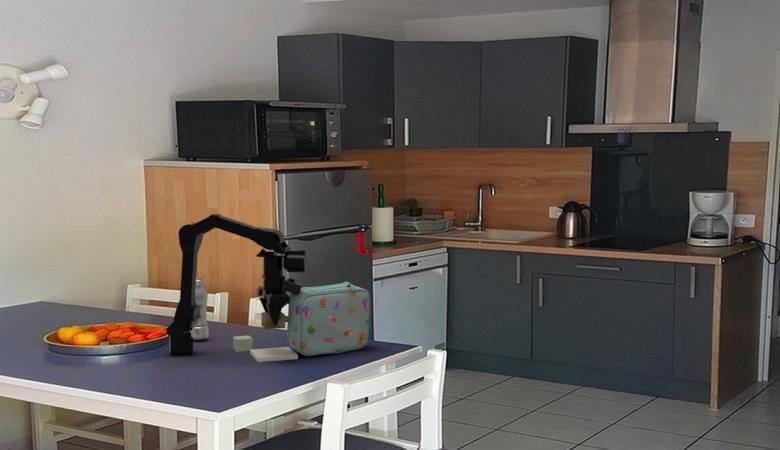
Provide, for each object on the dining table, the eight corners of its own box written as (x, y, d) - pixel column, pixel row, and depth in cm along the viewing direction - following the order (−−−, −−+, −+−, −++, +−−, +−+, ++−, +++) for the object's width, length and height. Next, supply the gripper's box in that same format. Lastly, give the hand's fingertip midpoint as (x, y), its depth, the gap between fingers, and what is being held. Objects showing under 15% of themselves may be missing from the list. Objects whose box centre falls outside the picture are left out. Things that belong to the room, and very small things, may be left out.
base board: (258, 362, 270) (258, 358, 270) (249, 353, 282) (249, 349, 282) (297, 359, 274) (297, 355, 274) (288, 350, 286) (288, 346, 286)
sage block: (236, 352, 284) (236, 339, 283) (233, 349, 288) (233, 336, 288) (252, 351, 285) (252, 338, 285) (249, 348, 290) (248, 335, 290)
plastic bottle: (206, 342, 298) (205, 280, 296) (185, 342, 298) (184, 280, 296) (210, 338, 304) (210, 278, 302) (190, 337, 304) (189, 277, 303)
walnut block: (265, 329, 273) (265, 315, 273) (261, 325, 279) (261, 312, 279) (285, 328, 275) (285, 314, 275) (281, 324, 281) (280, 311, 281)
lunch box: (356, 343, 297) (356, 277, 295) (374, 349, 289) (375, 281, 287) (284, 354, 281) (283, 284, 280) (301, 360, 273) (301, 288, 271)
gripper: (307, 274, 270) (307, 327, 271) (291, 267, 287) (291, 316, 289) (269, 276, 266) (269, 329, 267) (256, 268, 284) (256, 318, 285)
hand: (273, 323), depth 277 cm, fingers closed on walnut block, 6 cm apart
